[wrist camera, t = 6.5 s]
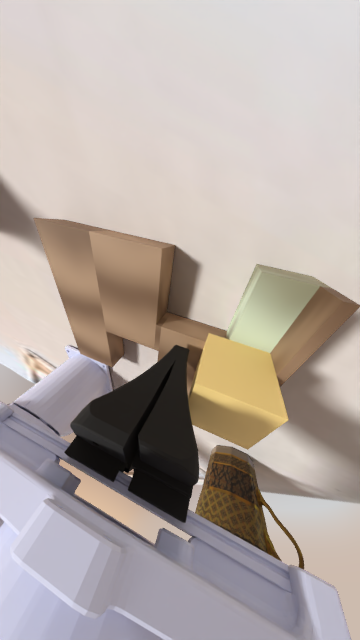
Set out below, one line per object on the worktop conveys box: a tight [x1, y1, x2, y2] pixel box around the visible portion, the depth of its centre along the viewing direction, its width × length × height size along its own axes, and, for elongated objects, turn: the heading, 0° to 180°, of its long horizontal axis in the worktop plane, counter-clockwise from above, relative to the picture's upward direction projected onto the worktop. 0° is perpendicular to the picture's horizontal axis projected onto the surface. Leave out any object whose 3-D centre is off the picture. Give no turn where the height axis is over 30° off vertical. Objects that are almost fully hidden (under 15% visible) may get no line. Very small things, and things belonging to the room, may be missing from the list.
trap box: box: [34, 218, 360, 395], centre depth 13 cm, size 15×20×4 cm
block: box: [188, 333, 289, 449], centre depth 10 cm, size 4×4×4 cm
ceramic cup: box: [195, 445, 304, 569], centre depth 21 cm, size 13×10×10 cm
